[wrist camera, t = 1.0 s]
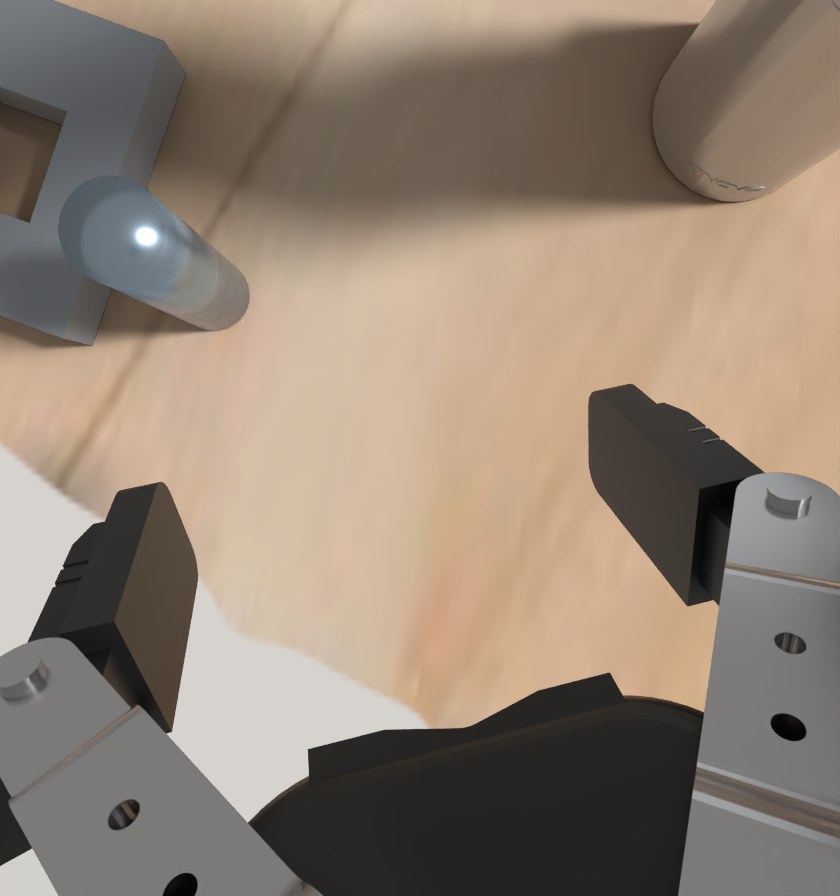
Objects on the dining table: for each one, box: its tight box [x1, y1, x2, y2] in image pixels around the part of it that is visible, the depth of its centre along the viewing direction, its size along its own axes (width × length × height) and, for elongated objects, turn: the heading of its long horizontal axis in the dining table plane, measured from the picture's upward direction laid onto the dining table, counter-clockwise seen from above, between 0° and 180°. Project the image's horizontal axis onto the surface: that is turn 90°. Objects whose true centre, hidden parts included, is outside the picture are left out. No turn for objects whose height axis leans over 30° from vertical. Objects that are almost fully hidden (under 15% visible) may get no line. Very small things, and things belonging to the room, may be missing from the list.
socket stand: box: [0, 0, 186, 346], centre depth 34 cm, size 16×13×3 cm
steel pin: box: [58, 176, 249, 331], centre depth 30 cm, size 4×4×12 cm
